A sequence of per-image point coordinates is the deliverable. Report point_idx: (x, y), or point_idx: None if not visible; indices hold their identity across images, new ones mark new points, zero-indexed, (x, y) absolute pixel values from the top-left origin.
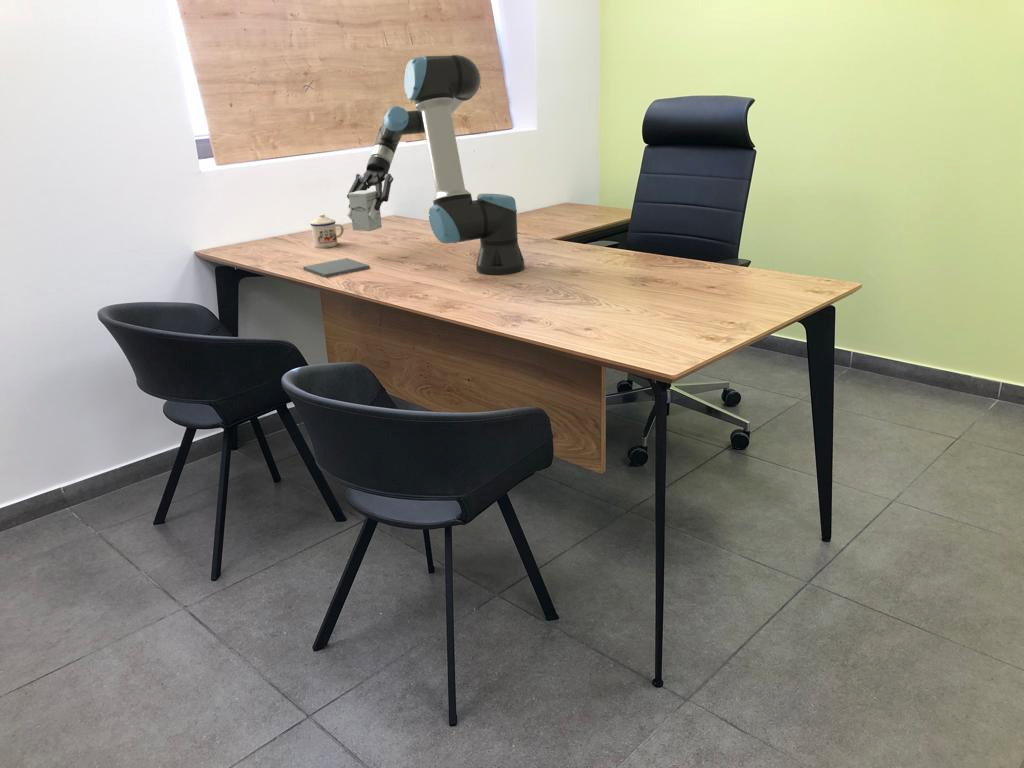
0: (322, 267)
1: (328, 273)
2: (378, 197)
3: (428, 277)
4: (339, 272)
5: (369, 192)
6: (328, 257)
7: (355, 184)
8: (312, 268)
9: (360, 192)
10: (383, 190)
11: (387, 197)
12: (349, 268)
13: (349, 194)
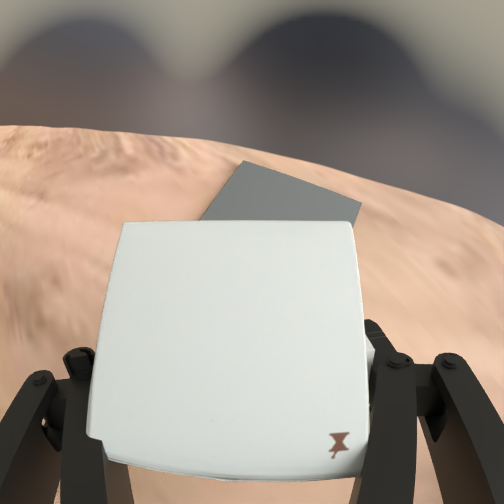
0: (301, 206)
1: (240, 169)
2: (72, 355)
3: (27, 231)
4: (223, 189)
5: (110, 297)
6: (409, 348)
7: (492, 482)
8: (320, 193)
9: (218, 271)
10: (22, 424)
11: (42, 426)
12: (214, 216)
13: (335, 226)
